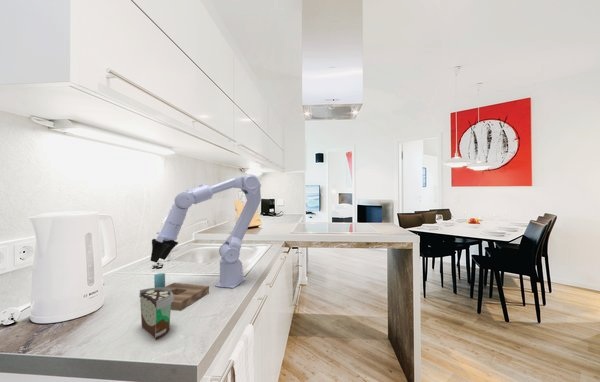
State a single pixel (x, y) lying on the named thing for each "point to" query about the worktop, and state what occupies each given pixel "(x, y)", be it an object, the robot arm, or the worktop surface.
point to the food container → (156, 311)
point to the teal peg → (159, 280)
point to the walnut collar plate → (186, 294)
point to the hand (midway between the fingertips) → (157, 260)
